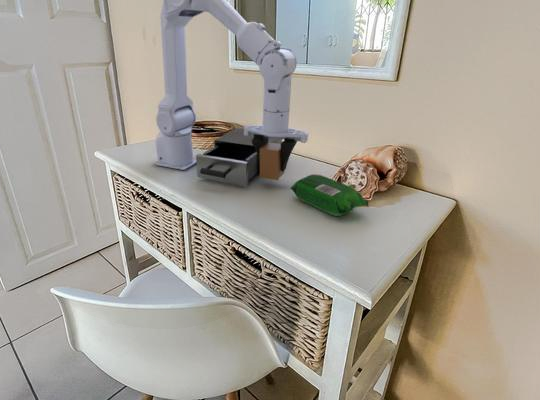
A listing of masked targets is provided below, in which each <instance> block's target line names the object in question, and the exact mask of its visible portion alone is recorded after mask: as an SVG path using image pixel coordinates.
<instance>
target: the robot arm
mask: <svg viewBox="0 0 540 400" xmlns="http://www.w3.org/2000/svg"><path fill="white" fill-rule="evenodd" d="M203 13H209V14H210V15H211V16H213V17H214V18H215V19H216V20H217V21H218V22H220V23H221V25H223V26H224V27H225V28H226V29H227V30H229V31H230V32H231V33H232V34H234V36H235V37H236V45H237V47H238V48H240V49H241V50H242V51H243V52H244V53H245V54H246V56H248V58H250V59H251V60H252V61H253V62H254V64H256V65H257V66H258V70H259V73H260V75H261V76H262V78H263V104H262V109H263V110H262V125H246V126H244V127H243V129H244V135H245V136H249V135H252V136H254V137H253V139H252V144H253V146H254V148H255V150H256V152H257V154H258V157H259V161H260V148H261V147H263V146H264V145H265V144H266V143H268V140H269V138H276V139H282V143H281V144H280V145H281V171H284V170H286V169H287V166H288V162H289V159H290V156H291V154H292V152H293V150H294V148H295V146H296V145H297V143H298V142H300V143H302V144H306V143H307V142H308V141H309V140H308V139H309V132H308V131H303V130H298V129H294V128H289V126H290V125H289V124H290V123H289V122H290V111H291V110H290V107H291V96H292V95H291V94H292V75H293V73H294V72H295V71H296V69H297V58H296V54H294V52H293V51H292V49H291V48H288V47H282V42H281V41H279V40H275V39H274V38H273V36H271V35H270V34H269V33H268V32H267V31H266V30H265V29H266V26H265V24H263V22H258V23H257V22H256V21H250V22H247V21H246V20H245V18H243V16H242V15H241V14H240V13H239V12H238V10H236V9H235V8H234V7H233V6H232V5H231V4H230V2H229V1H228V0H163V3H162V7H161V11H160V31H161V32H160V33H161V48H162V49H161V50H162V64H163V65H162V66H163V82H164V83H163V85H164V96H163V97H162V98H161V100H160V101H159V103H158V105H157V109H158V110H157V111H158V112H157V114H156V118H155V120H156V126H157V128H158V130H159V132H158V133H157V135H156V137H155V149H156V157H157V162H156V163H155V164H156V166H160V167H166V168H170V169H174V170H175V169H176V170H182V171H186V170H187V169H189V168H191V167H192V166H194V165H196V164H197V162H196V158H194V153H193V152H194V151H193V140H192V139H193V138H192V137H193V136H192V131H193V126H195V124H196V121H197V114H196V111H195V109H194V102H193V100H192V99H191V98H190V96H188V85H187V84H188V83H187V82H188V81H187V51H186V50H187V49H186V48H187V47H186V45H187V44H186V27H187V25H188V24H189V23H190V22H191V21H192V20H193V19H194V18H195V17H197V16H199V15H201V14H203ZM284 172H285V171H284Z"/></svg>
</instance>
